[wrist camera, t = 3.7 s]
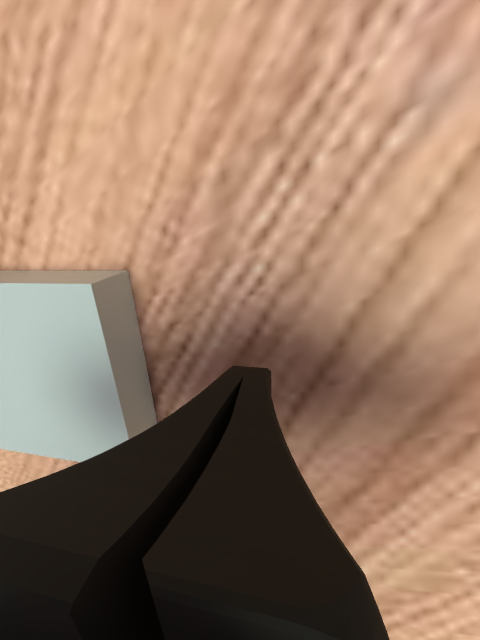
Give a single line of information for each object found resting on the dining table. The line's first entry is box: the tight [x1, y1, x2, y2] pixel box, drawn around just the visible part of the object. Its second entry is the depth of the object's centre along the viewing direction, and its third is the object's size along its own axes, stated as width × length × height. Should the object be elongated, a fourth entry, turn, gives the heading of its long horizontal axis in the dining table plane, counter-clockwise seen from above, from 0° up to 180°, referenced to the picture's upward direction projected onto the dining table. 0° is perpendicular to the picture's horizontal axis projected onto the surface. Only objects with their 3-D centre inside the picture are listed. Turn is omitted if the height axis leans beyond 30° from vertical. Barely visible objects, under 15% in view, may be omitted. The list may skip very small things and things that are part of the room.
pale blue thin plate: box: [0, 270, 157, 462], centre depth 12 cm, size 8×9×2 cm
